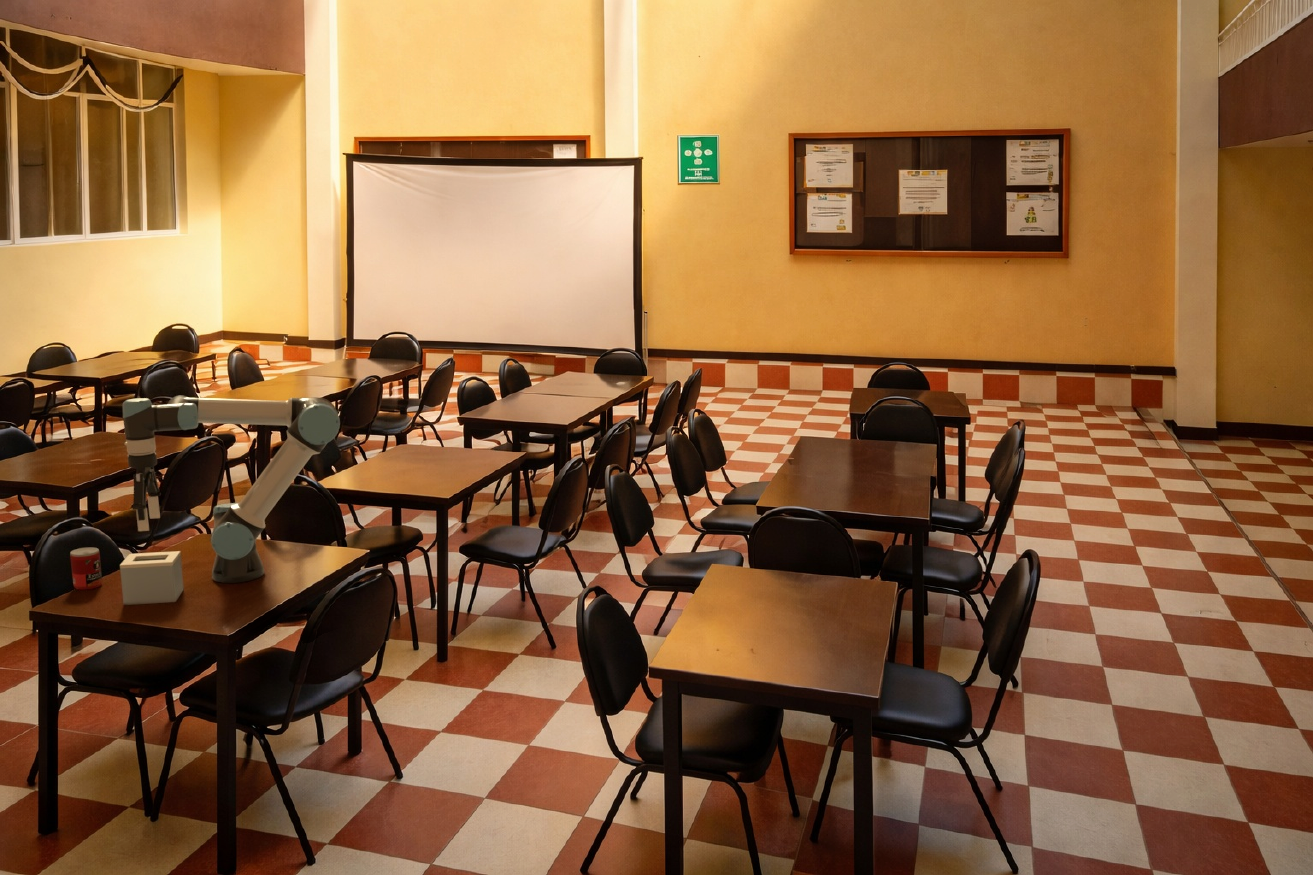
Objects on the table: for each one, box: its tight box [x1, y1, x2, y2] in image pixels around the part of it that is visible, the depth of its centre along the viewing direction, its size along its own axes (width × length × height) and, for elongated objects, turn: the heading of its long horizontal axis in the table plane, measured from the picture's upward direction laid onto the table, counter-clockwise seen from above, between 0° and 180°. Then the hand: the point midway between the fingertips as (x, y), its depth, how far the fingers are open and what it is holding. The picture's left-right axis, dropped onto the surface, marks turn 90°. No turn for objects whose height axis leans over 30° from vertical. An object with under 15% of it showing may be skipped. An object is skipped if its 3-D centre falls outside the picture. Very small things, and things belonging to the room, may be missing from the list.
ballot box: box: [119, 550, 184, 606], centre depth 320 cm, size 14×11×12 cm
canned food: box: [69, 546, 103, 591], centre depth 330 cm, size 8×8×11 cm
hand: (149, 524), depth 317 cm, fingers open, 13 cm apart
